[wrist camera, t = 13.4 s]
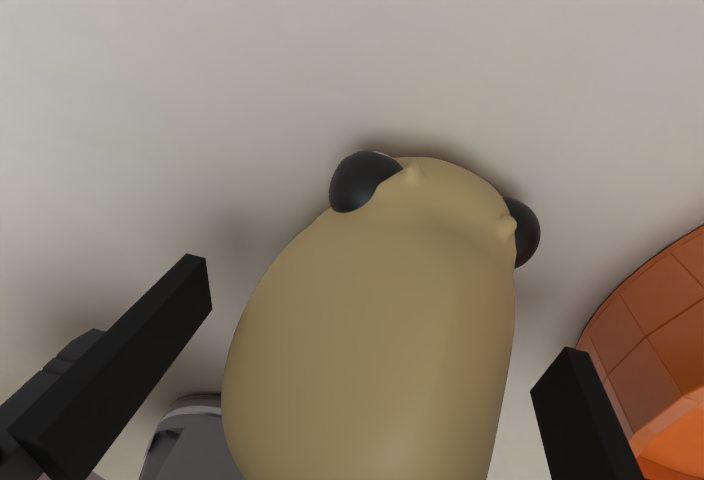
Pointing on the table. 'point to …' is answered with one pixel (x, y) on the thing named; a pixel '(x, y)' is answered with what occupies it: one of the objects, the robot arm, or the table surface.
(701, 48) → the table surface
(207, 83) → the table surface
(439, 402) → the beige pug toy
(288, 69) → the table surface
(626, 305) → the pan
